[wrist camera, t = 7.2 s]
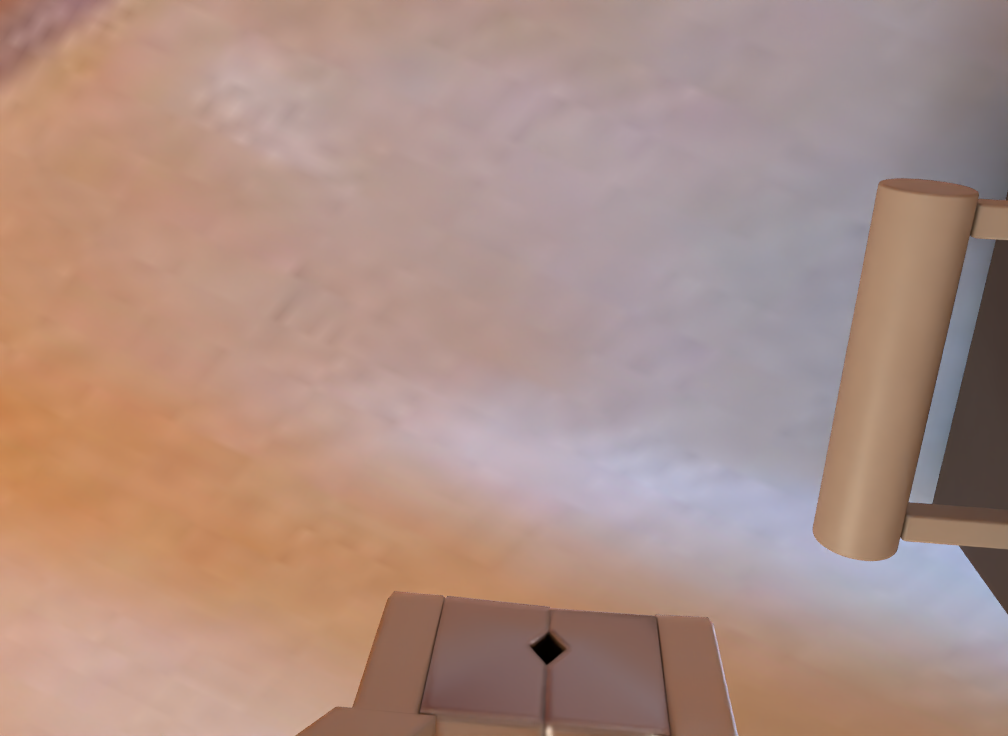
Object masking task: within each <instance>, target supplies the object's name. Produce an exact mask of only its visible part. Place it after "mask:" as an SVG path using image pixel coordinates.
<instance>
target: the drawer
mask: <svg viewBox="0 0 1008 736" xmlns="http://www.w3.org/2000/svg"><path fill="white" fill-rule="evenodd" d="M978 198H979V193H978V191H976V190H974V189H972V188H970V187H966V186H962V185H958V184H953V183H947V182H940V181H933V180H923V179H905V178H897V179H886V180H882V181H880V182H879V184H878V189H877V194H876V199H875V205H874V210H873V215H872V220H871V226H870V231H869V236H868V241H867V247H866V252H865V257H864V262H863V268H862V273H861V278H860V283H859V289H858V294H857V299H856V304H855V310H854V315H853V320H852V325H851V330H850V336H849V341H848V346H847V351H846V357H845V362H844V367H843V372H842V378H841V383H840V388H839V393H838V399H837V404H836V409H835V414H834V420H833V425H832V430H831V435H830V441H829V446H828V451H827V456H826V462H825V467H824V472H823V477H822V482H821V488H820V493H819V498H818V503H817V509H816V514H815V519H814V524H813V534H814V536H815V538H816V539H817V541H818V542H819V543H820V544H821V545H823V546H824V547H825V548H827V549H829V550H830V551H832V552H834V553H837V554H839V555H842V556H845V557H848V558H852V559H857V560H864V561H879V560H884V559H887V558H890V557H891V556H893V555H894V554H895V553H896V551H897V549H898V545H899V540H900V537H901V538H902V540H904V541H910V542H923V543H935V544H948V545H959V547H960V548H961V549H962V551H963V552H964V554H965V555H966V557H967V558H968V559H969V561H970V562H971V564H972V565H973V566H974V568H975V569H976V571H977V572H978V573H979V575H980V576H981V578H982V579H983V580H984V582H985V583H986V585H987V586H988V587H989V589H990V590H991V592H992V593H993V594H994V596H995V597H996V599H997V600H998V601H999V603H1000V604H1001V606H1002V607H1003V608H1004V610H1005V611H1006V613H1007V614H1008V192H1007V197H1006V200H993V199H978ZM970 236H972V237H974V238H980V239H996V242H995V246H994V250H993V255H992V259H991V263H990V267H989V271H988V275H987V280H986V284H985V288H984V292H983V296H982V300H981V304H980V309H979V313H978V317H977V321H976V325H975V329H974V333H973V338H972V342H971V346H970V350H969V354H968V358H967V362H966V367H965V371H964V375H963V379H962V383H961V387H960V391H959V396H958V400H957V404H956V408H955V412H954V416H953V420H952V425H951V429H950V433H949V437H948V441H947V445H946V450H945V454H944V458H943V462H942V466H941V470H940V474H939V479H938V483H937V487H936V491H935V495H934V499H933V503H932V504H924V503H910V502H908V501H909V497H910V493H911V488H912V484H913V480H914V475H915V471H916V467H917V462H918V458H919V454H920V449H921V445H922V441H923V436H924V432H925V428H926V423H927V419H928V414H929V410H930V406H931V401H932V397H933V393H934V388H935V384H936V380H937V375H938V371H939V367H940V362H941V358H942V354H943V349H944V345H945V341H946V336H947V332H948V328H949V323H950V319H951V315H952V310H953V306H954V302H955V297H956V293H957V289H958V284H959V280H960V276H961V271H962V267H963V263H964V258H965V254H966V250H967V245H968V241H969V237H970Z"/></svg>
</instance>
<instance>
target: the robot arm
mask: <svg viewBox="0 0 1008 736" xmlns="http://www.w3.org/2000/svg"><path fill="white" fill-rule="evenodd" d="M296 736H738V733H737V729H736V724H735V720H734V715H733V711H732V706H731V702H730V697H729V693H728V688H727V683H726V679H725V674H724V670H723V665H722V661H721V656H720V652H719V647H718V643H717V638H716V634H715V629H714V624H713V623H712V622H711V621H710V620H709V618H708V617H691V616H673V615H655V616H647V615H634V614H621V613H608V612H594V611H581V610H568V609H555V608H550V607H545V606H536V605H527V604H517V603H508V602H499V601H489V600H480V599H471V598H461V597H452V596H447V597H446V598H445V597H444V596H442V595H431V594H419V593H408V592H396V591H394V592H393V594H392V595H391V596H390V597H389V598H388V599H387V602H386V605H385V608H384V611H383V614H382V618H381V621H380V624H379V627H378V630H377V633H376V636H375V639H374V642H373V645H372V648H371V652H370V655H369V658H368V661H367V664H366V667H365V670H364V673H363V676H362V679H361V682H360V685H359V689H358V692H357V695H356V698H355V701H354V704H353V707H352V708H347V707H335V708H334V709H332V710H331V711H329V712H328V713H327V714H325V715H324V716H322V717H321V718H320V719H318V720H317V721H315V722H314V723H313V724H311V725H310V726H308V727H307V728H305V729H304V730H303V731H301V732H300V733H298V734H297V735H296Z"/></svg>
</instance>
